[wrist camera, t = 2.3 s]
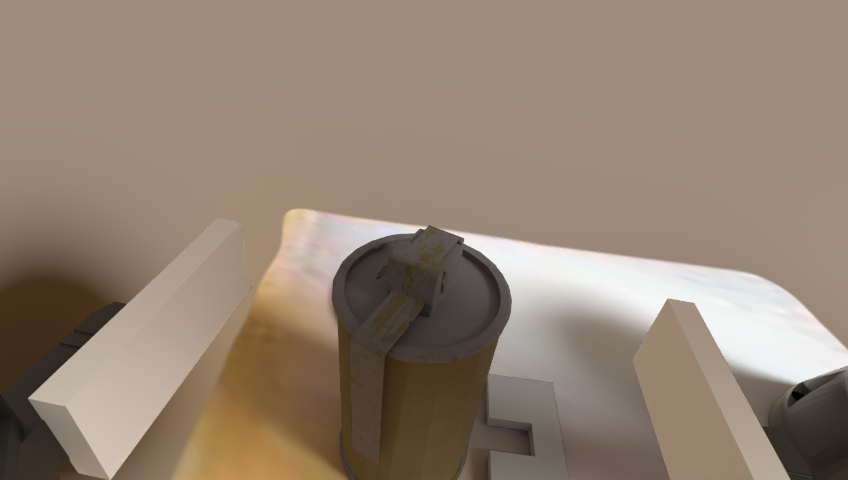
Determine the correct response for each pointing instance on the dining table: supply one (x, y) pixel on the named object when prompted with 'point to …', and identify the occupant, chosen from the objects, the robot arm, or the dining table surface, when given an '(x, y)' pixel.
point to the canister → (414, 352)
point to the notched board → (525, 429)
